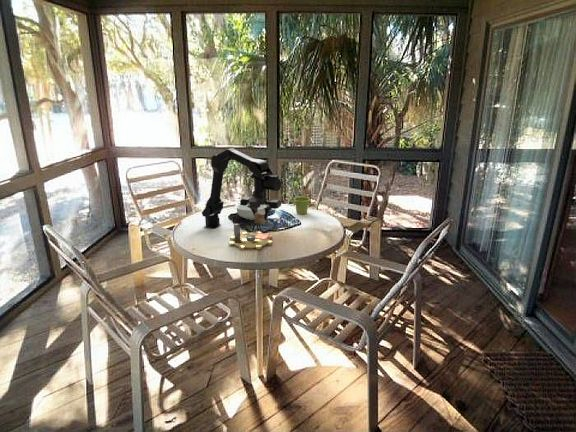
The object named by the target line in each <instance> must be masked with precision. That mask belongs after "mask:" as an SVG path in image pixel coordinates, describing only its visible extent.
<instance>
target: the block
mask: <svg viewBox="0 0 576 432" xmlns="http://www.w3.org/2000/svg"><path fill="white" fill-rule="evenodd" d="M266 222H268V219H267V220H266V221H265V212H262V211H258V212H256V213H255V220H254V224H262V225H264V224H265V223H266Z"/></svg>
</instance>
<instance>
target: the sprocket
mask: <svg viewBox="0 0 576 432" xmlns="http://www.w3.org/2000/svg"><path fill="white" fill-rule="evenodd" d="M272 239H273V235H272V234H266V233H263V232H262V231H256V232H255V231H254V232H252V231H251V232H247V231H243V232H242V231H241V223H234V224H233V235H231V236H230V241H229V242H228V245H229V246H230V247H231V246H234V247H236V248H238V250H246V249H247V250H249V249H255V250H261V249H262V248H263V247H265V246H268V245H269V246H272V245H273V240H272Z"/></svg>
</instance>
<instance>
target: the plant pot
mask: <svg viewBox="0 0 576 432" xmlns="http://www.w3.org/2000/svg"><path fill="white" fill-rule="evenodd" d="M310 200H311V198H309V197H307V196H296V197H294V198H293V201H294V203H295V205H294V206H295V211H296V214H297V215H305V214H308V209H309V204H310Z"/></svg>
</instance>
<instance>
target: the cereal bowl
mask: <svg viewBox="0 0 576 432" xmlns="http://www.w3.org/2000/svg"><path fill="white" fill-rule="evenodd" d="M247 206H248V204H247V205H246V206H244V205H240V204H238V205H236V212H237V214H238V215H239V216H240V218H244V219H246V220H248V219H249V220H250V221H255V217H254V214H253V212H252V210H251V209H250V208H249V207H247ZM265 207H266V205H260V207H259V208H258V211H262V212H265V210H264V208H265ZM249 220H248V221H249Z"/></svg>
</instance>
